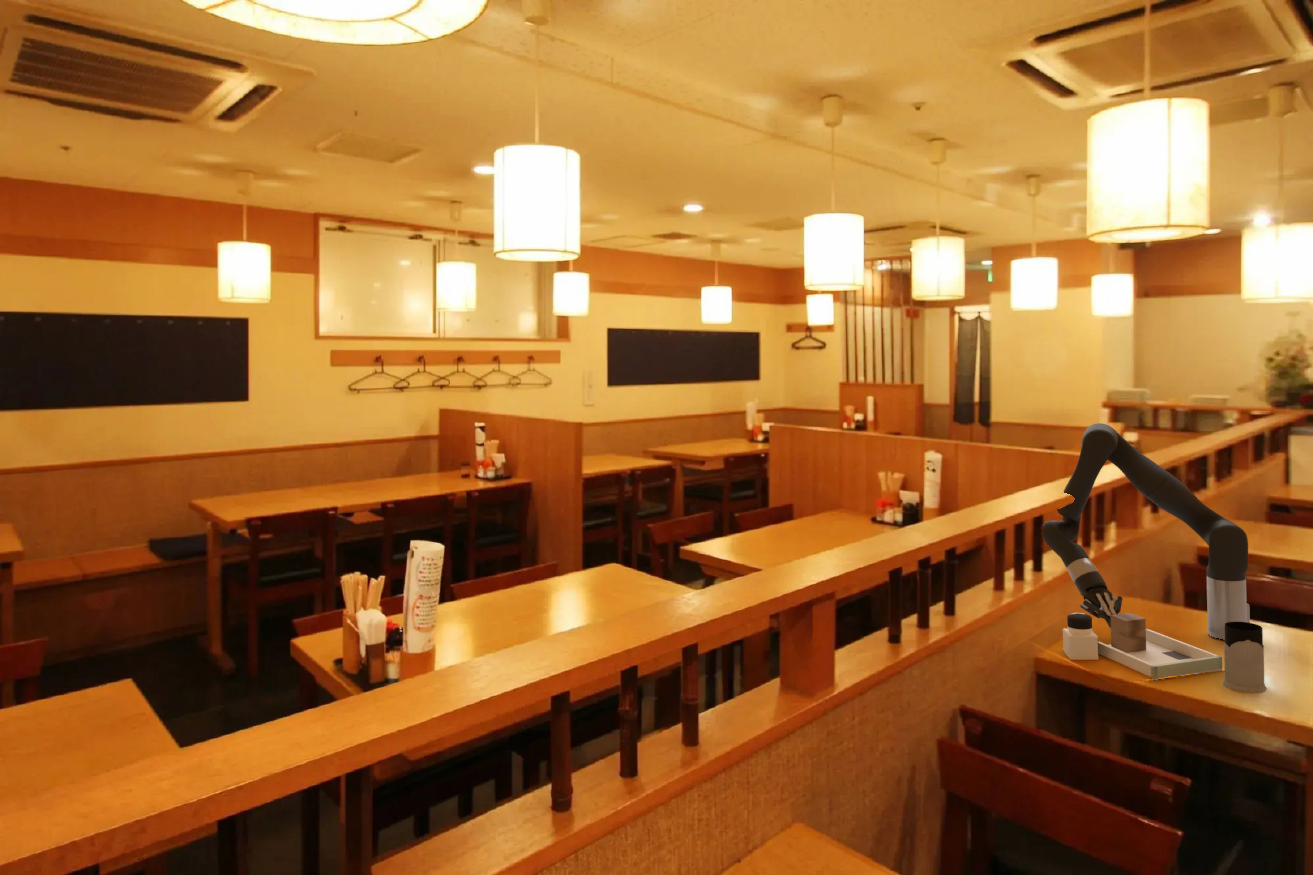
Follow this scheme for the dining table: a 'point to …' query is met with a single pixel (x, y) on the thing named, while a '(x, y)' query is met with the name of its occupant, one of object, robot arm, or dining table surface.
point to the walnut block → (1128, 632)
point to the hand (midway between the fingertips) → (1117, 628)
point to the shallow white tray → (1164, 657)
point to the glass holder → (1244, 657)
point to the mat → (1176, 655)
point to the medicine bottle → (1080, 638)
